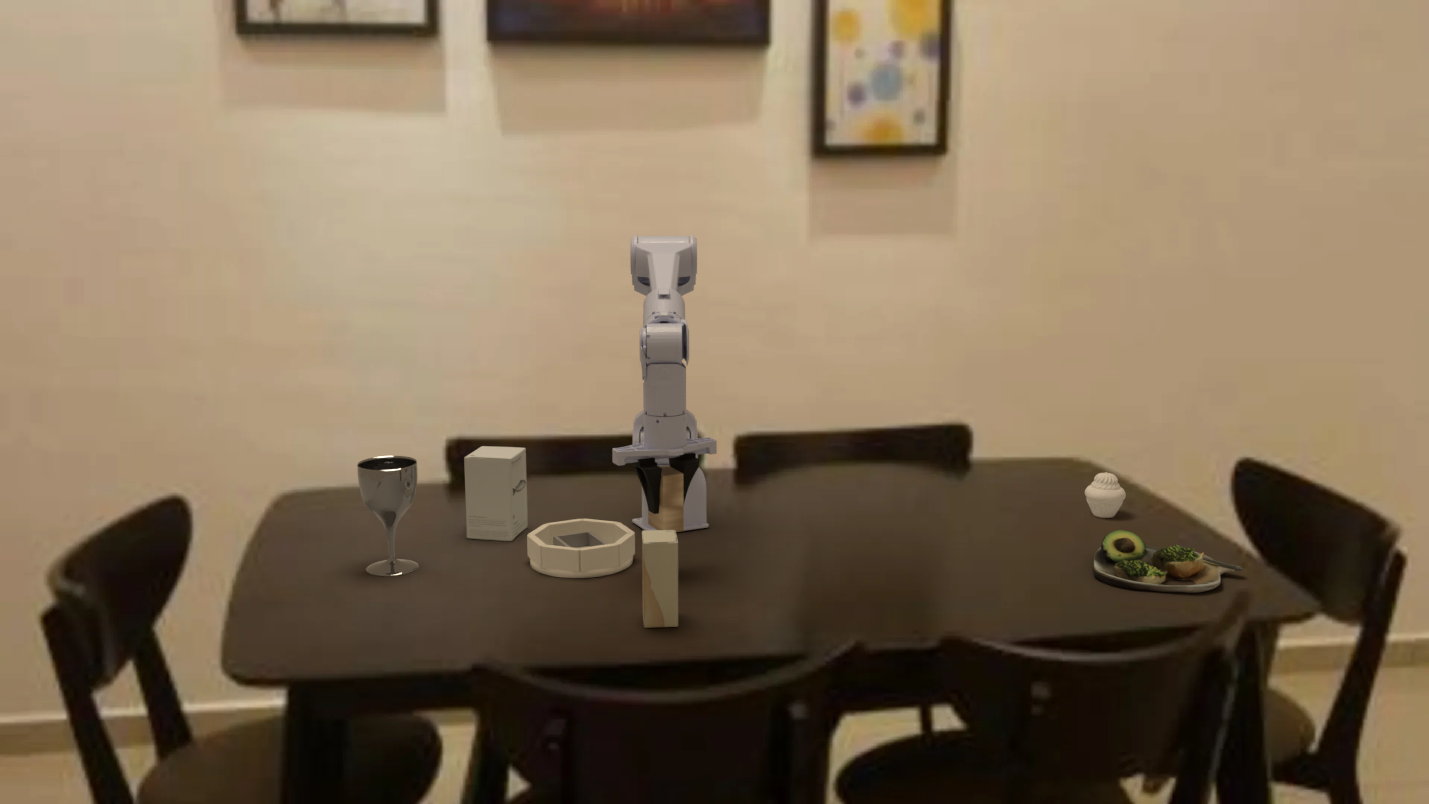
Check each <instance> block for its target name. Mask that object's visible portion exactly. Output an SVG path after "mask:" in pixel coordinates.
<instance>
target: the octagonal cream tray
mask: <svg viewBox="0 0 1429 804" xmlns="http://www.w3.org/2000/svg"><path fill="white" fill-rule="evenodd" d="M635 535H636V532H635V531H633V530H632V529H630V528H629V527H628V526H627V525H624V524H623V523H622V522H619V521H613V520H601V519H592V518H576V519H575V518H574V519H568V520H567V519H566V520H561V521H560V520H559V521H555V522H553V521H552V522H546V523H543V524H542V525H540V526H537V528H535V529H534V530H532V531H530V532H528V534H527V535H526V545H527V546H526V547H527V548H526V551H527V557H528V558H529V565H530V567H531V568H532V569H533V570H534V571H536V572H537V573H539V574H542V575H546V576H551V577H557V578H563V579H588V578H597V577H603V576H605V577H606V576H610V575H613V574H617V573H619V572H622V571H624V570H626V569H628V568H630V566H631V565H632V564H633V563H634V562H633V561H634V555H635V554H636V545H635V544H636V536H635Z"/></svg>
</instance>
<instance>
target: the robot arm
mask: <svg viewBox="0 0 1429 804" xmlns="http://www.w3.org/2000/svg"><path fill="white" fill-rule="evenodd" d="M629 245H630V250H629V252H630V255H629V256H630V258H629V259H630V275H631V285H632V286H633V290H634V291H635V292H636V293H639V294H641V295H644V296H645V298H644V300H643V304H642V305H643V306H642V307H643V308H642V309H643V310H642V311H643V313H642V314H643V315H642V326H641V327H639V328H640V329H639V360H640V366H641V376H642V377H641V380H642V381H643V384H642V389H643V390H642V391H643V398H642V400H643V404H642V405H643V409H642V410H641V411H639V412H638V413H637V414H636V415H635V417H634V418H633V422H632V423H633V428H632V444H630V445H626V446H621V447H614V448H613V447H612V449H611V451H612V452H611V453H612V463H613V464H614V465H617V466H625V465H626V464H631V466H632V468H633V470H634V471H635V474H636V476H637V477H638V480H639V482H640V484H641V517H638V518H637V517H636V518H632V521H631V522H632V523H633V524H635V525H636V526H638V527H640V528H641V529H642V530H643V531H646V530H656V529H655V528H653V527H652V526H650V525H649V524H648V511H650V512H652V513H653V514H658V513H659V505H660V503H659V487H660V478H661V473H662V468H661V467H659V466H666V465H668V466H670V467H672V468H674V469H676V470H678V471H679V472H681V473H683V504H684V531H683V532H685V531H693V530H699V529H704V528H705V529H706V528H709V525H710V524H709V523H708V522H707V521H708V520H707V517H708V516H707V482H706V478H705V474H704V472H703V470H702V469H701V468H700V459H699V455H706V454H708V455H717V451H718V450H717V449H718V448H717V447H718V445H717V442H718V441H717V439H714V438H712V437H711V436H709V437H699V435H698V434H699V433H698V427H697V426H698V425H697V419H696V417H695V415H694V413H692V412H691V411H689V410H688V409H687V367H688V365H689V361H690V329H689V325H688V323H687V322H688V321H687V319H686V306H685V305H686V304H685V299H684V298H683V296H684V295H687V294H689V293H690V292H693V291H694V289H695V285H696V281H697V274H698V240H697V238H696V237H695V235H694V234H689V235H638V234H633V236H632V237H631V238H630V240H629ZM683 360H684V361H685V362H686V364H685V363H684V362H683ZM698 437H699V438H698Z"/></svg>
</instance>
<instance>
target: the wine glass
mask: <svg viewBox="0 0 1429 804" xmlns="http://www.w3.org/2000/svg"><path fill="white" fill-rule="evenodd" d="M356 466H357V479H358V481H357V482H358V486H359V490H360V495H361V498H362V502H363V504H364V505H365V506H366V507H367V509H368V510H369V511H370V512H371V513H372V514H373V515H374V516H375V517H376V518H377V519H378V520H379V521H380V522H381V524H382V525H383V528H384V530H385V533H386V538H387V546H388V558H387V559H383V560H379V561H376V562H373V563H371V564H369V565H368V566H367V567H365V571H366V573H368V574H369V575H373V576H378V577H394V576H395V577H397V576H402V575H406V574H410V573H412V572H415V571H416V570H418V568H419V567H420V565H419V563H418V562H416V561H414V560H411V559H404V558H403V559H402V558H396V554H395V541H396V539H395V537H396V528H397V526H398V524H399V521H400V520H401V519H402V517H404V515H405V514H406V512H407V511H408V510H409V508H410V507H411V505H412V504H413V502H414V500H415V497H416V491H417V487H418V461H417V459H416V458H414V457H410V456H406V455H405V456H404V455H383V456H375V457H369V458H366V459H362V460H360V461H359V462H357V465H356Z"/></svg>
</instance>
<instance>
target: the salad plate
mask: <svg viewBox="0 0 1429 804" xmlns="http://www.w3.org/2000/svg"><path fill="white" fill-rule="evenodd" d="M1100 544H1101V545H1100V547H1099V548H1098V549H1097V550H1095V552H1094V555H1093V566H1092V568H1091V569H1092V573H1093V574H1094V575H1093V576H1095V578H1097V579H1098V580H1099V581H1101V582H1103V583H1104V584H1108V585H1110V586H1113V587H1117V588H1121V589H1122V588H1123V589H1128V590H1134V591H1135V590H1136V591H1146V592H1147V591H1150V592H1162V593H1164V592H1165V593H1204V592H1207V591H1211V590H1214V589H1216V588H1217V587H1219V586H1220V585H1221V583H1222V582H1221V580H1222V577H1221V575H1223V574H1224V573H1229V572H1239V571H1240V572H1241V571H1242V569H1243V568H1242V566H1239V565H1236V564H1231V563H1227V562H1224V561H1220V560H1216V559H1213V557H1211V556H1208V555H1206V554H1205V552H1204V551H1203V552H1202V553H1200V552H1197V551H1195V548H1189V547H1182V546H1181V545H1178V544H1174V545H1172V546H1168V547H1157V546H1152V545H1148V544H1146V543H1145V541H1144V540H1143V538H1141V536H1139V535H1138V534H1136V533H1135V532H1132V531H1129V530H1126V529H1125V530H1124V529H1116V530H1113V531H1111V532H1109V533H1107V534H1106V535H1104V537H1103V539H1102V542H1101V543H1100ZM1174 580H1179V581H1191V582H1193V583H1194V584H1190V585H1188V584H1187V585H1179V584H1178V585H1176V584H1175V585H1172V584H1171V585H1166V584H1163V583H1164V582H1166V581H1174Z"/></svg>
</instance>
